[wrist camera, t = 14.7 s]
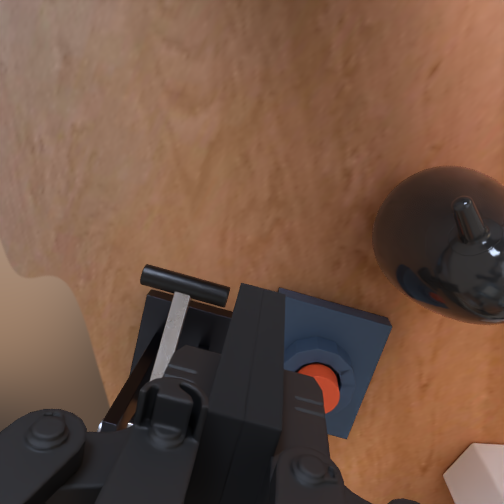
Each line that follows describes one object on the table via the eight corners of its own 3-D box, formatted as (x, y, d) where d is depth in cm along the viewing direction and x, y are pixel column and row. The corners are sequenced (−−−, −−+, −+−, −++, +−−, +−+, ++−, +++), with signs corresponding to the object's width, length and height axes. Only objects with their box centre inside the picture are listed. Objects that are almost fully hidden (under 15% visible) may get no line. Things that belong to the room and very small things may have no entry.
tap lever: (150, 263, 32) (142, 264, 30) (231, 286, 32) (229, 288, 30) (100, 440, 32) (88, 455, 30) (181, 463, 32) (175, 480, 30)
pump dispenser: (455, 133, 35) (573, 144, 21) (512, 242, 37) (656, 322, 23) (340, 202, 37) (374, 256, 23) (400, 301, 39) (466, 409, 25)
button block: (279, 287, 40) (278, 305, 36) (388, 317, 40) (398, 338, 36) (244, 399, 43) (240, 426, 40) (344, 426, 44) (350, 456, 40)
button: (301, 358, 38) (302, 371, 36) (342, 369, 38) (346, 383, 36) (289, 393, 39) (289, 408, 37) (329, 405, 39) (331, 420, 37)
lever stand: (151, 289, 41) (87, 371, 28) (236, 312, 41) (213, 406, 28) (129, 389, 44) (62, 506, 31) (208, 411, 44) (175, 537, 31)
